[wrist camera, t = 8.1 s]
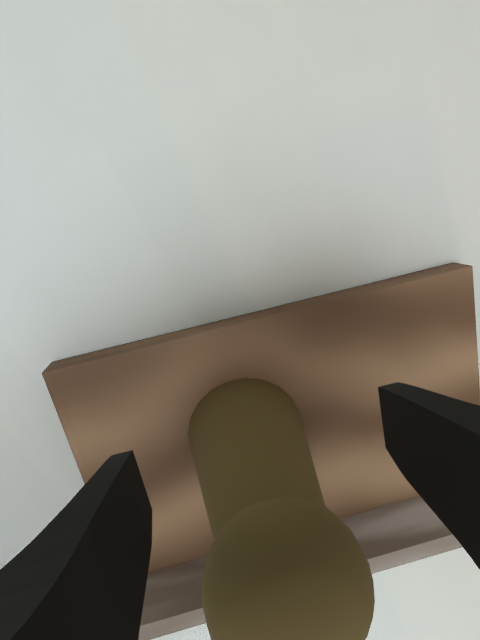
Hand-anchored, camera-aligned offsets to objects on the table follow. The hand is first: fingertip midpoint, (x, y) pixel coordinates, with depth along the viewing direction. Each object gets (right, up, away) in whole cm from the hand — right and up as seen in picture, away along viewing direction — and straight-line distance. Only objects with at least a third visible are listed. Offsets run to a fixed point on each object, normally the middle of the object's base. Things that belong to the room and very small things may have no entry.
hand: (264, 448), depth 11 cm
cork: (0, -2, +10) cm, 10 cm away
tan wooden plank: (+2, -2, +12) cm, 12 cm away
